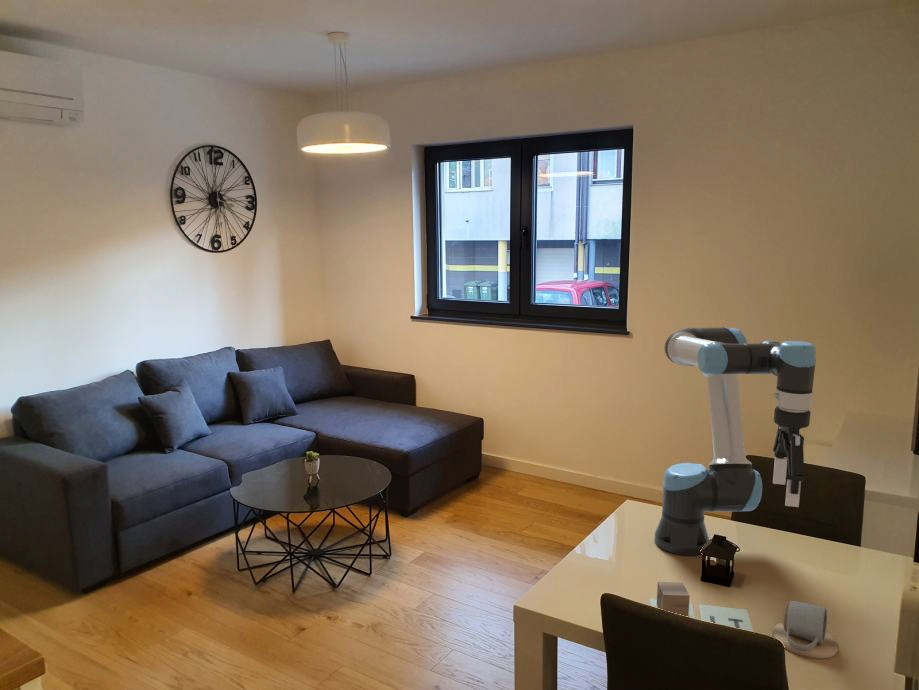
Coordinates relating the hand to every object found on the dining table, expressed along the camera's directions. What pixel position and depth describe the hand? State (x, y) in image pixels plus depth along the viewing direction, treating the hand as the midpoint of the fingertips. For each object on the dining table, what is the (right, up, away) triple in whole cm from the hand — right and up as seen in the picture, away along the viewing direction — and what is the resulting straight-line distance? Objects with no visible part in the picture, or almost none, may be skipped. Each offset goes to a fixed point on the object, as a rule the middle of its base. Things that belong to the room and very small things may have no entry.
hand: (785, 494), depth 161 cm
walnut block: (-27, -28, +1) cm, 39 cm away
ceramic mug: (-1, -30, -10) cm, 32 cm away
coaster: (-1, -30, -10) cm, 32 cm away
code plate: (-15, -29, -3) cm, 33 cm away
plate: (-27, -29, +1) cm, 39 cm away
